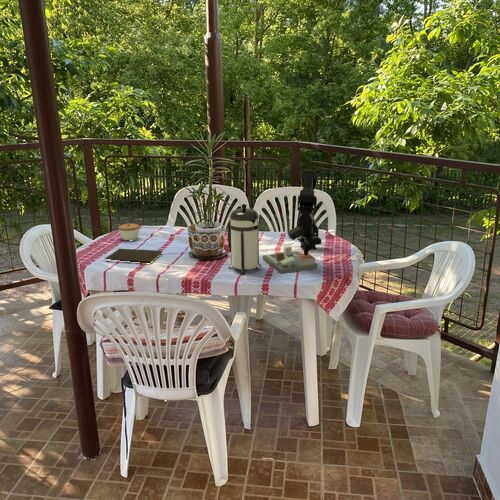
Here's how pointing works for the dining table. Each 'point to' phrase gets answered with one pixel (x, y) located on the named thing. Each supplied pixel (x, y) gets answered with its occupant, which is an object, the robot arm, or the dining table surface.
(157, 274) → the dining table surface
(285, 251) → the offwhite knob
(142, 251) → the hardcover book
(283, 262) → the green rocker
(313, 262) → the panel
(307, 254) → the red button
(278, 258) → the walnut knob
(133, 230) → the lidded jar
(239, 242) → the coffee press
